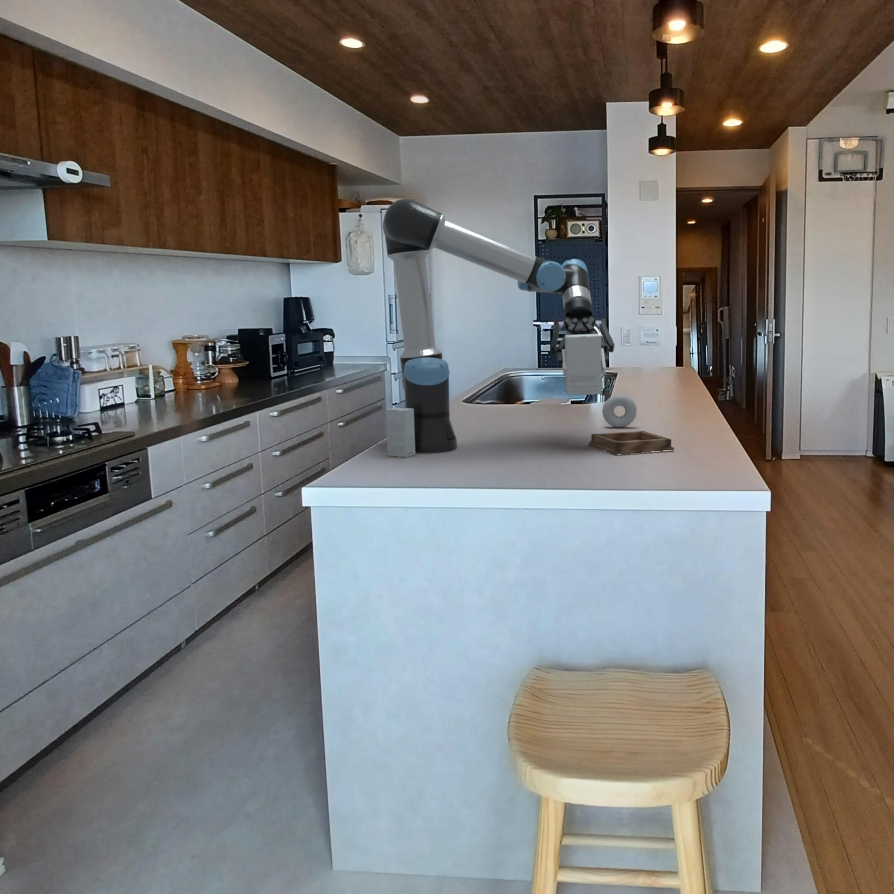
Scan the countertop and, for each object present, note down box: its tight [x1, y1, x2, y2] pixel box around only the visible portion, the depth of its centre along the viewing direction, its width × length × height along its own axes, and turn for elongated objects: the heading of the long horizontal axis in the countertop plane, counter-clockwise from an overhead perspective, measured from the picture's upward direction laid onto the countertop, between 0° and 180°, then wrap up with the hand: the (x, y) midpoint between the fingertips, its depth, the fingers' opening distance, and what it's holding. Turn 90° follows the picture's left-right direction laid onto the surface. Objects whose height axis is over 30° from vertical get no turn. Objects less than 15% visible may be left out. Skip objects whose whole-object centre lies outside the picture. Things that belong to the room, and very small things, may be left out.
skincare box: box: [385, 407, 416, 458], centre depth 217 cm, size 6×4×12 cm
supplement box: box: [564, 333, 603, 396], centre depth 222 cm, size 9×9×15 cm
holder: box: [588, 430, 675, 456], centre depth 222 cm, size 16×16×3 cm
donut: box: [602, 394, 638, 429], centre depth 256 cm, size 10×4×10 cm, turn 79°
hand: (584, 371), depth 219 cm, fingers closed on supplement box, 9 cm apart
